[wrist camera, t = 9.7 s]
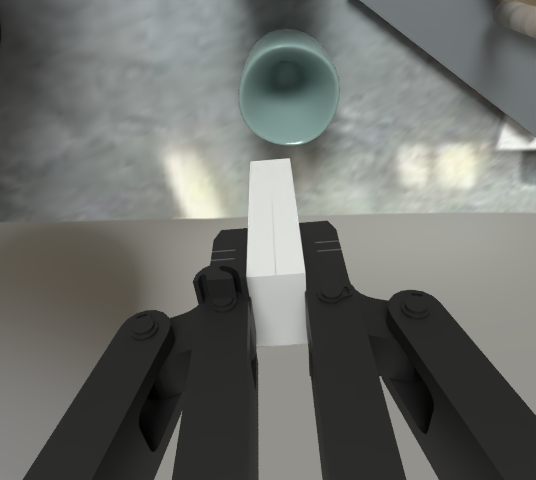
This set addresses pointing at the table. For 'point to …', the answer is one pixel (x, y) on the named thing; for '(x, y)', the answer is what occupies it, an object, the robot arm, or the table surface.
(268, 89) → the cup
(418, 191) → the table surface
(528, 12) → the disc
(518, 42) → the stand
